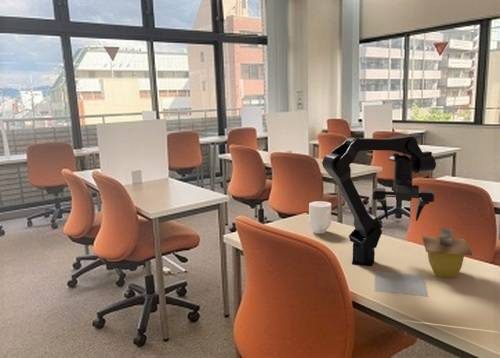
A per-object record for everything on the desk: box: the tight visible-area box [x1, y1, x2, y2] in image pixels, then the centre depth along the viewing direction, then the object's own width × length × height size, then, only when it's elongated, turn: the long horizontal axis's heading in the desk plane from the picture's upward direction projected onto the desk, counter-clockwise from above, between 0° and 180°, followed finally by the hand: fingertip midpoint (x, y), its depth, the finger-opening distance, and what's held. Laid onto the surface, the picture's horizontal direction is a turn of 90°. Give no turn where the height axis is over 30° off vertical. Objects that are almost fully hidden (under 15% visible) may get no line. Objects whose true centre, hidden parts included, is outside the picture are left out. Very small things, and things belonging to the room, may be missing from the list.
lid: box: [421, 227, 473, 256], centre depth 123 cm, size 12×12×5 cm
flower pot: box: [427, 252, 465, 278], centre depth 125 cm, size 9×9×9 cm
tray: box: [374, 270, 429, 297], centre depth 120 cm, size 14×14×1 cm
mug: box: [308, 200, 333, 235], centre depth 167 cm, size 12×9×12 cm
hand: (401, 219), depth 138 cm, fingers open, 9 cm apart
